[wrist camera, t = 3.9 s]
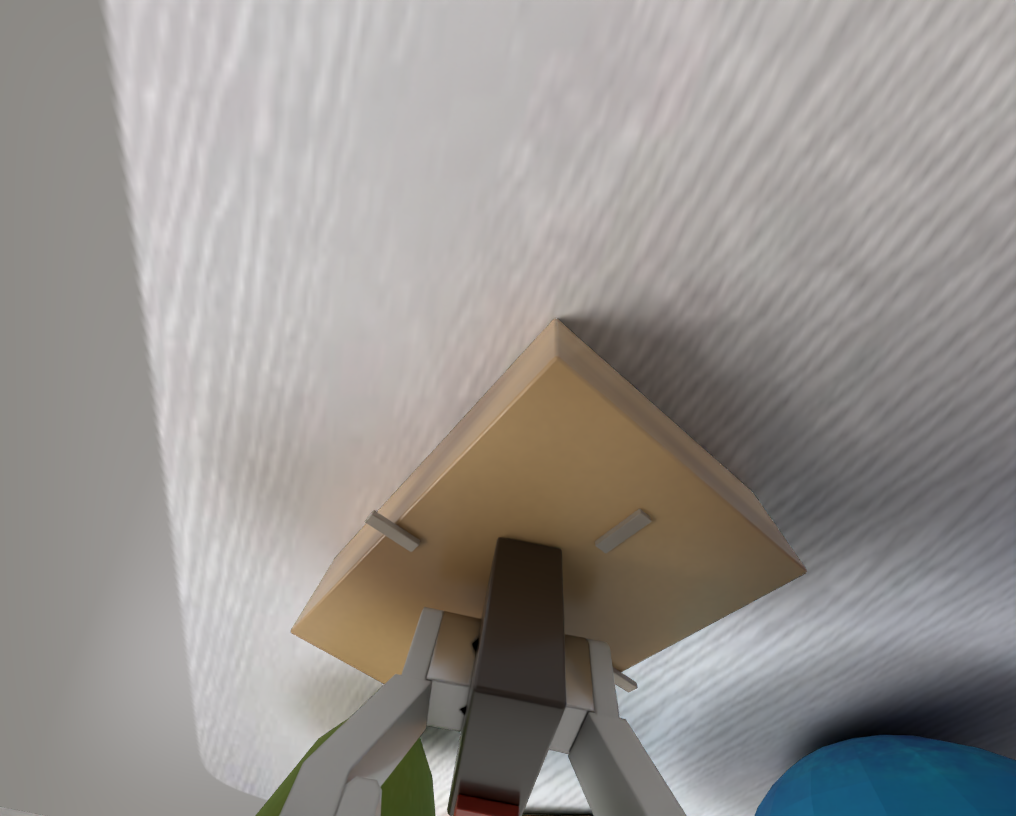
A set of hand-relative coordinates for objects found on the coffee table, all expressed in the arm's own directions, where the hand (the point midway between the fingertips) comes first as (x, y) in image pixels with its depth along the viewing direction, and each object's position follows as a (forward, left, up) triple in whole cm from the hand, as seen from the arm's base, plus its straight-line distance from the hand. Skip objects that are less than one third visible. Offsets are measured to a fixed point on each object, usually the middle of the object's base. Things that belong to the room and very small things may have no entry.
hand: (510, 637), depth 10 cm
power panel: (0, 0, -4) cm, 4 cm away
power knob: (0, 0, -1) cm, 1 cm away
